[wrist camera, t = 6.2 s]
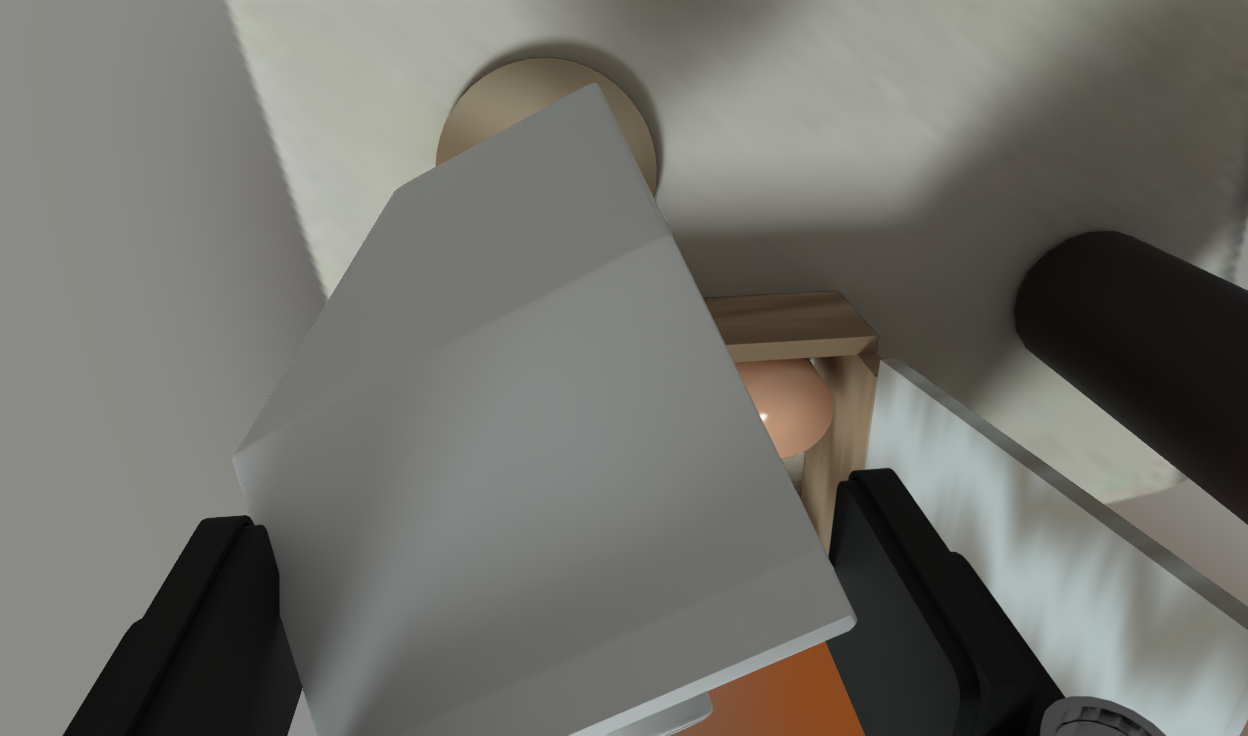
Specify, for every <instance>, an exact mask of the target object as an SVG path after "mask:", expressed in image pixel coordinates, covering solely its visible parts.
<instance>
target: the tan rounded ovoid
mask: <svg viewBox="0 0 1248 736" xmlns="http://www.w3.org/2000/svg"><path fill="white" fill-rule="evenodd" d="M734 363H735V365H736V367H737V369H738V371H739V373H740V376H741V378H742V380H743V382H744V384H745V386H746V388H747V390H748V392H749V394H750V396H751V398H752V400H753V402H754V404H755V406H756V409H757V411H758V413H759V415H760V417H761V419H762V421H763V423H764V425H765V427H766V429H767V431H768V433H769V435H770V437H771V439H772V441H773V444H774V446H775V448H776V450H777V452H778V454H779V456H780V458H787V457H792V456H795V455H798V454H800V453H802V452H804V451H806V450H808V449H809V448H811V447H812V446H813V445H815V444H816V443H817V442H818V441H819V440H820V439H821V438H822V437H823V435H824V434H825V433H826V431H827V430H828V428H829V426H830V424H831V421H832V418H833V412H834V403H833V398H832V394H831V392H830V390H829V388H828V387H827V385H826V384H825V382H824V381H823V380H822V378H821V377H820V375H819V374H818V372H817V371H816V369H815V368H814V366H813V365H812V363H811V362H810V360H809V359H808V358H797V359H781V360H765V361H749V362H734Z"/></svg>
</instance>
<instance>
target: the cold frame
mask: <svg viewBox="0 0 1248 736" xmlns="http://www.w3.org/2000/svg"><path fill="white" fill-rule="evenodd" d="M703 299H704V301H705V303H706V306H707V308H708V310H709V312H710V314H711V316H712V318H713V320H714V322H715V324H716V326H717V328H718V330H719V332H720V334H721V336H722V338H723V341H724V343H725V345H726V347H727V349H728V351H729V353H730V355H731V357H732V359H733V361H734V362H749V361H765V360H781V359H797V358H813V357H814V368H815V369H816V371H817V372H818V374H819V375H820V377H821V378H822V380H823V381H824V382H825V384H826V385H827V387H828V388H829V390H830V392H831V394H832V398H833V403H834V412H833V418H832V421H831V424H830V426H829V428H828V430H827V431H826V433H825V434H824V435H823V437H822V438H821V439H820V440H819V441H818V442H817V443H816V444H815V445H813V446H812V447H811V448H809V449H808V450H806V451H805V457H804V467H803V478H802V488H801V498H800V499H801V501H802V503H803V505H804V507H805V509H806V512H807V514H808V516H809V518H810V520H811V522H812V524H813V526H814V528H815V530H816V532H817V534H818V536H819V538H820V540H821V542H822V544H823V547H824V549H825V551H826V553H827V555H828V556H829V548H830V540H831V532H832V524H833V515H834V507H835V499H836V491H837V486H838V484H839V482H841V481H848V478H849V475H850V473H851V472H852V471H854V470H866V469H880V468H890V469H893V471H894V472H895V473H896V474H897V475H898V477H899V478H900V480H901V481H902V483H903V484H904V485H905V487H906V488H907V490H908V491H909V493H910V494H911V495H912V497H913V498H914V500H915V501H916V503H917V504H918V506H919V507H920V508H921V510H922V511H923V513H924V514H925V516H926V517H927V518H928V520H929V521H930V523H931V524H932V526H933V527H934V528H935V530H936V531H937V533H938V534H939V536H940V537H941V539H942V540H943V541H944V543H945V544H946V546H947V547H948V549H949V550H950V551H951V552H957V553H959V554H961V555H963V556H964V558H965V559H966V560H967V561H968V562H969V563H970V565H971V566H972V567H973V569H974V570H975V572H976V573H977V574H978V576H979V577H980V579H981V580H982V581H983V583H984V584H985V585H986V587H987V588H988V590H989V591H990V592H991V594H992V595H993V597H994V598H995V599H996V601H997V602H998V604H999V605H1000V606H1001V608H1002V609H1003V611H1004V612H1005V613H1006V615H1007V616H1008V618H1009V619H1010V620H1011V622H1012V623H1013V625H1014V626H1015V627H1016V629H1017V630H1018V632H1019V633H1020V634H1021V636H1022V637H1023V639H1024V640H1025V641H1026V643H1027V644H1028V646H1029V647H1030V648H1031V650H1032V651H1033V653H1034V654H1035V655H1036V657H1037V658H1038V660H1039V661H1040V662H1041V664H1042V665H1043V667H1044V668H1045V669H1046V671H1047V672H1048V674H1049V675H1050V676H1051V678H1052V679H1053V681H1054V682H1055V683H1056V685H1057V686H1058V688H1059V689H1060V690H1061V692H1062V693H1063V695H1064V696H1065V697H1066V698H1067V697H1071V696H1092V697H1096V698H1100V699H1105V700H1109V701H1113V702H1115V703H1117V704H1120V705H1122V706H1124V707H1127V708H1129V709H1131V710H1134V711H1135V712H1137V713H1138V714H1140V715H1141V716H1143V717H1144V718H1146V719H1147V720H1149V721H1150V722H1152V723H1153V724H1155V725H1156V726H1157V727H1158V728H1159V729H1160V730H1161V731H1162V732H1163V733H1164V734H1165V735H1166V736H1240V734H1241V732H1242V730H1243V728H1244V725H1245V724H1246V722H1247V720H1248V607H1247V606H1246V605H1245V604H1243V603H1242V602H1240V601H1239V600H1237V599H1236V598H1235V597H1233V596H1232V595H1231V594H1229V593H1228V592H1226V591H1225V590H1224V589H1222V588H1220V587H1219V586H1218V585H1217V584H1215V583H1214V582H1212V581H1211V580H1209V579H1208V578H1206V577H1205V576H1204V575H1202V574H1201V573H1200V572H1198V571H1197V570H1195V569H1194V568H1193V567H1191V566H1190V565H1188V564H1187V563H1186V562H1184V561H1183V560H1181V559H1180V558H1179V557H1177V556H1176V555H1174V554H1173V553H1171V552H1170V551H1169V550H1167V549H1166V548H1164V547H1163V546H1162V545H1160V544H1159V543H1157V542H1156V541H1154V540H1153V539H1152V538H1150V537H1149V536H1148V535H1146V534H1145V533H1143V532H1142V531H1140V530H1139V529H1138V528H1136V527H1135V526H1133V525H1132V524H1131V523H1129V522H1128V521H1126V520H1125V519H1124V518H1122V517H1121V516H1119V515H1118V514H1117V513H1115V512H1114V511H1112V510H1111V509H1110V508H1108V507H1107V506H1105V505H1104V504H1102V503H1101V502H1100V501H1098V500H1097V499H1095V498H1094V497H1093V496H1091V495H1090V494H1088V493H1087V492H1086V491H1084V490H1083V489H1081V488H1080V487H1079V486H1077V485H1076V484H1074V483H1073V482H1072V481H1070V480H1069V479H1067V478H1066V477H1064V476H1063V475H1062V474H1060V473H1059V472H1057V471H1056V470H1055V469H1053V468H1052V467H1050V466H1049V465H1048V464H1046V463H1045V462H1043V461H1042V460H1041V459H1039V458H1038V457H1036V456H1035V455H1034V454H1032V453H1031V452H1029V451H1028V450H1026V449H1025V448H1024V447H1022V446H1021V445H1019V444H1018V443H1017V442H1015V441H1014V440H1012V439H1011V438H1010V437H1008V436H1007V435H1005V434H1004V433H1003V432H1001V431H1000V430H998V429H997V428H995V427H994V426H993V425H991V424H990V423H988V422H987V421H986V420H984V419H983V418H981V417H980V416H979V415H977V414H976V413H974V412H973V411H972V410H970V409H969V408H967V407H966V406H965V405H963V404H962V403H960V402H959V401H957V400H956V399H955V398H953V397H952V396H950V395H949V394H948V393H946V392H945V391H943V390H942V389H941V388H939V387H938V386H936V385H935V384H934V383H932V382H931V381H929V380H928V379H927V378H925V377H924V376H922V375H921V374H919V373H918V372H917V371H915V370H914V369H912V368H911V367H910V366H908V365H907V364H905V363H904V362H903V361H901V360H900V359H898V358H897V357H893V358H887V359H882V360H881V358H880V357H879V356H878V355H877V354H876V352H877V345H878V337H879V336H878V335H877V333H876V332H875V331H874V330H873V329H872V328H871V327H870V326H869V325H868V324H867V322H866V321H865V320H864V319H863V318H862V317H861V316H860V315H859V314H858V312H857V311H856V310H855V309H854V308H853V307H852V306H851V305H850V304H849V303H848V301H847V300H846V299H845V298H844V297H843V296H842V295H841V294H840V293H839V291H824V292H806V293H788V294H770V295H752V296H735V297H717V298H703Z"/></svg>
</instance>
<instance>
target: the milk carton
mask: <svg viewBox="0 0 1248 736" xmlns="http://www.w3.org/2000/svg"><path fill="white" fill-rule="evenodd" d="M232 461H233V464H234V468H235V471H236V474H237V477H238V481H239V484H240V487H241V490H242V494H243V497H244V500H245V503H246V507H247V510H248V513H249V516H250V518H251V519H252V520H253V523H254V525H264V526H265V528H266V529H267V532H268V535H269V539H270V542H271V546H272V549H273V553H274V556H275V560H276V563H277V567H278V570H279V574H280V617H281V620H282V623H283V626H284V629H285V633H286V636H287V639H288V642H289V646H290V649H291V652H292V655H293V659H294V662H295V665H296V668H297V671H298V675H299V678H300V681H301V684H302V688H303V691H304V694H305V697H306V701H307V704H308V707H309V710H310V713H311V717H312V720H313V723H314V726H315V729H316V732H317V736H669V735H671V734H674V733H676V732H678V731H681V730H683V729H685V728H687V727H690V726H692V725H694V724H696V723H698V722H700V721H702V720H704V719H706V718H707V716H708V715H710V714H711V713H712V711H713V706H712V703H711V701H710V698H709V696H708V693H707V691H708V690H711V689H713V688H715V687H718V686H720V685H723V684H725V683H727V682H730V681H732V680H734V679H736V678H739V677H741V676H744V675H746V674H748V673H751V672H753V671H756V670H758V669H760V668H763V667H765V666H767V665H770V664H772V663H774V662H777V661H779V660H782V659H784V658H786V657H789V656H791V655H793V654H796V653H798V652H800V651H803V650H805V649H807V648H810V647H812V646H815V645H817V644H819V643H822V642H824V641H826V640H829V639H831V638H833V637H836V636H838V635H840V634H843V633H845V632H847V631H850V630H851V629H852V628H853V627H854V626H855V624H856V622H857V617H856V615H855V613H854V611H853V609H852V606H851V604H850V602H849V600H848V598H847V596H846V594H845V592H844V590H843V588H842V586H841V584H840V582H839V580H838V577H837V575H836V573H835V571H834V568H833V566H832V564H831V562H830V561H829V559H828V555H827V553H826V551H825V549H824V547H823V544H822V542H821V540H820V538H819V536H818V534H817V532H816V530H815V528H814V526H813V524H812V522H811V520H810V518H809V516H808V514H807V512H806V509H805V507H804V505H803V503H802V501H801V499H800V497H799V495H798V493H797V491H796V489H795V487H794V485H793V483H792V481H791V479H790V477H789V474H788V472H787V470H786V468H785V466H784V464H783V462H782V460H781V458H780V456H779V454H778V452H777V450H776V448H775V446H774V444H773V441H772V439H771V437H770V435H769V433H768V431H767V429H766V427H765V425H764V423H763V421H762V419H761V417H760V415H759V413H758V411H757V409H756V406H755V404H754V402H753V400H752V398H751V396H750V394H749V392H748V390H747V388H746V386H745V384H744V382H743V380H742V378H741V376H740V373H739V371H738V369H737V367H736V365H735V363H734V361H733V359H732V357H731V355H730V353H729V351H728V349H727V347H726V345H725V343H724V341H723V338H722V336H721V334H720V332H719V330H718V328H717V326H716V324H715V322H714V320H713V318H712V316H711V314H710V312H709V310H708V308H707V306H706V303H705V301H704V299H703V297H702V295H701V293H700V291H699V289H698V287H697V285H696V283H695V281H694V279H693V277H692V275H691V273H690V271H689V268H688V266H687V264H686V262H685V260H684V258H683V256H682V254H681V252H680V250H679V248H678V246H677V244H676V242H675V240H674V238H673V236H672V234H671V232H670V230H669V228H668V226H667V224H666V222H665V219H664V217H663V215H662V213H661V211H660V209H659V207H658V205H657V203H656V201H655V199H654V197H653V195H652V193H651V191H650V189H649V187H648V185H647V183H646V181H645V179H644V177H643V175H642V173H641V170H640V168H639V166H638V164H637V162H636V160H635V158H634V156H633V154H632V152H631V150H630V148H629V146H628V144H627V142H626V140H625V138H624V136H623V134H622V132H621V130H620V128H619V126H618V124H617V121H616V119H615V117H614V115H613V113H612V111H611V109H610V107H609V105H608V103H607V101H606V99H605V97H604V95H603V93H602V91H601V89H600V87H599V85H598V84H597V83H592V84H589V85H587V86H584V87H583V88H581V89H579V90H577V91H575V92H573V93H571V94H569V95H567V96H565V97H564V98H562V99H560V100H558V101H556V102H554V103H553V104H551V105H549V106H547V107H545V108H543V109H542V110H540V111H538V112H536V113H534V114H532V115H531V116H529V117H527V118H525V119H523V120H521V121H519V122H518V123H516V124H514V125H512V126H510V127H508V128H507V129H505V130H503V131H501V132H499V133H497V134H496V135H494V136H492V137H490V138H488V139H486V140H484V141H483V142H481V143H479V144H477V145H475V146H473V147H472V148H470V149H468V150H466V151H464V152H462V153H461V154H459V155H457V156H455V157H453V158H451V159H450V160H448V161H446V162H444V163H442V164H440V165H438V166H437V167H435V168H433V169H431V170H429V171H427V172H426V173H424V174H422V175H420V176H418V177H416V178H415V179H413V180H411V181H409V182H408V183H406V184H404V185H402V186H401V187H399V188H398V189H397V190H396V191H395V192H394V193H393V195H392V196H391V198H390V200H389V201H388V203H387V205H386V206H385V208H384V209H383V211H382V213H381V214H380V216H379V218H378V219H377V221H376V223H375V224H374V226H373V228H372V229H371V231H370V233H369V234H368V236H367V238H366V239H365V241H364V242H363V244H362V246H361V247H360V249H359V251H358V252H357V254H356V256H355V257H354V259H353V261H352V262H351V264H350V266H349V267H348V269H347V271H346V272H345V274H344V275H343V277H342V279H341V280H340V282H339V284H338V285H337V287H336V289H335V290H334V292H333V294H332V295H331V297H330V299H329V300H328V302H327V303H326V305H325V307H324V308H323V310H322V312H321V313H320V315H319V317H318V318H317V320H316V322H315V323H314V325H313V327H312V328H311V330H310V332H309V333H308V335H307V336H306V338H305V340H304V341H303V343H302V345H301V346H300V348H299V350H298V351H297V353H296V355H295V356H294V358H293V360H292V361H291V363H290V365H289V366H288V368H287V370H286V371H285V373H284V374H283V376H282V378H281V379H280V381H279V383H278V384H277V386H276V388H275V389H274V391H273V393H272V394H271V396H270V398H269V399H268V401H267V402H266V404H265V406H264V408H263V409H262V411H261V412H260V414H259V416H258V417H257V419H256V421H255V422H254V424H253V425H252V427H251V429H250V431H249V432H248V434H247V436H246V437H245V439H244V440H243V442H242V444H241V445H240V447H239V449H238V450H237V452H236V453H235V454H234V456H233V457H232Z"/></svg>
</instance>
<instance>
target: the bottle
mask: <svg viewBox="0 0 1248 736" xmlns="http://www.w3.org/2000/svg"><path fill="white" fill-rule="evenodd" d="M1014 314H1015V323H1016V331H1017V333H1018V335H1019V336H1020V338H1021V340H1022V342H1023V344H1024V345H1025V347H1026V349H1028V350H1029V351H1030V352H1031V353H1033V354H1034V355H1035V356H1036V357H1038V358H1039V359H1040V360H1041V361H1043V362H1044V363H1045V364H1046V365H1048V366H1049V367H1050V368H1051V369H1053V370H1054V371H1055V372H1056V373H1058V374H1059V375H1060V376H1061V377H1063V378H1064V379H1065V380H1066V381H1068V382H1069V383H1070V384H1072V385H1073V386H1074V387H1075V388H1077V389H1078V390H1079V391H1080V392H1082V393H1083V394H1084V395H1085V396H1087V397H1088V398H1089V399H1090V400H1092V401H1093V402H1094V403H1095V404H1097V405H1098V406H1099V407H1100V408H1102V409H1103V410H1104V411H1105V412H1107V413H1108V414H1109V415H1110V416H1112V417H1113V418H1114V419H1115V420H1117V421H1118V422H1119V423H1120V424H1122V425H1123V426H1124V427H1126V428H1127V429H1128V430H1129V431H1131V432H1132V433H1133V434H1134V435H1136V436H1137V437H1138V438H1139V439H1141V440H1142V441H1143V442H1144V443H1146V444H1147V445H1148V446H1149V447H1151V448H1152V449H1153V450H1154V451H1156V452H1157V453H1158V454H1159V455H1161V456H1162V457H1163V458H1164V459H1166V460H1167V461H1168V462H1169V463H1171V464H1172V465H1173V466H1175V467H1176V468H1177V469H1178V470H1180V471H1181V472H1182V473H1183V474H1185V475H1186V476H1187V477H1188V478H1190V479H1191V480H1192V481H1194V482H1195V483H1196V484H1197V485H1198V486H1200V487H1201V488H1202V489H1203V490H1205V491H1206V492H1207V493H1209V494H1210V495H1211V496H1212V497H1214V498H1215V499H1216V500H1217V501H1218V502H1220V503H1221V504H1222V505H1224V506H1225V507H1226V508H1227V509H1229V510H1230V511H1231V512H1232V513H1234V514H1235V515H1236V516H1238V517H1239V518H1240V519H1241V520H1242V521H1244V522H1245V523H1246V524H1247V525H1248V290H1245V289H1243V288H1241V287H1239V286H1237V285H1235V284H1233V283H1231V282H1228V281H1226V280H1224V279H1222V278H1220V277H1218V276H1216V275H1213V274H1211V273H1209V272H1207V271H1205V270H1203V269H1201V268H1198V267H1196V266H1194V265H1192V264H1190V263H1188V262H1185V261H1183V260H1181V259H1179V258H1177V257H1175V256H1173V255H1170V254H1168V253H1166V252H1164V251H1162V250H1160V249H1158V248H1155V247H1153V246H1151V245H1149V244H1147V243H1145V242H1143V241H1140V240H1138V239H1136V238H1134V237H1131V236H1128V235H1125V234H1121V233H1118V232H1115V231H1105V232H1089V233H1086V234H1083V235H1080V236H1077V237H1074V238H1071V239H1068V240H1066V241H1065V242H1063V243H1062V244H1060V245H1059V246H1057V247H1056V248H1054V249H1053V250H1051V251H1050V252H1048V253H1047V254H1046V255H1045V256H1044V257H1043V258H1042V259H1041V260H1040V261H1039V262H1038V263H1037V264H1036V265H1035V266H1034V268H1033V269H1032V270H1031V271H1030V272H1029V274H1028V276H1027V278H1026V279H1025V281H1024V283H1023V285H1022V287H1021V288H1020V290H1019V293H1018V298H1017V302H1016V306H1015V311H1014Z"/></svg>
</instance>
